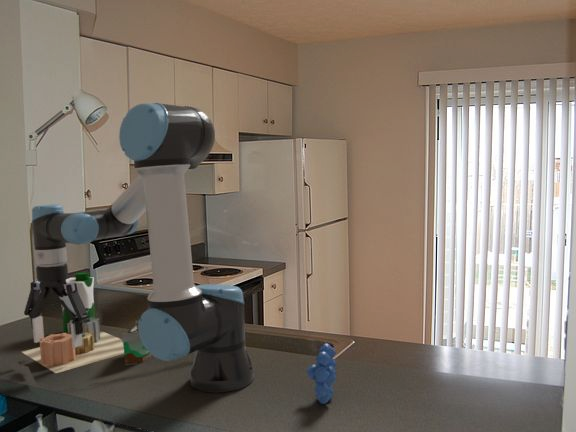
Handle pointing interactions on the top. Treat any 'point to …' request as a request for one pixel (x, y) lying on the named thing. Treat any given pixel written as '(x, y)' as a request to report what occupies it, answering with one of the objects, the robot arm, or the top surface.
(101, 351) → the carrier
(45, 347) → the planet gear
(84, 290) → the milk carton
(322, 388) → the grapes
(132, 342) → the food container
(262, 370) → the top surface
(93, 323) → the seated gear
